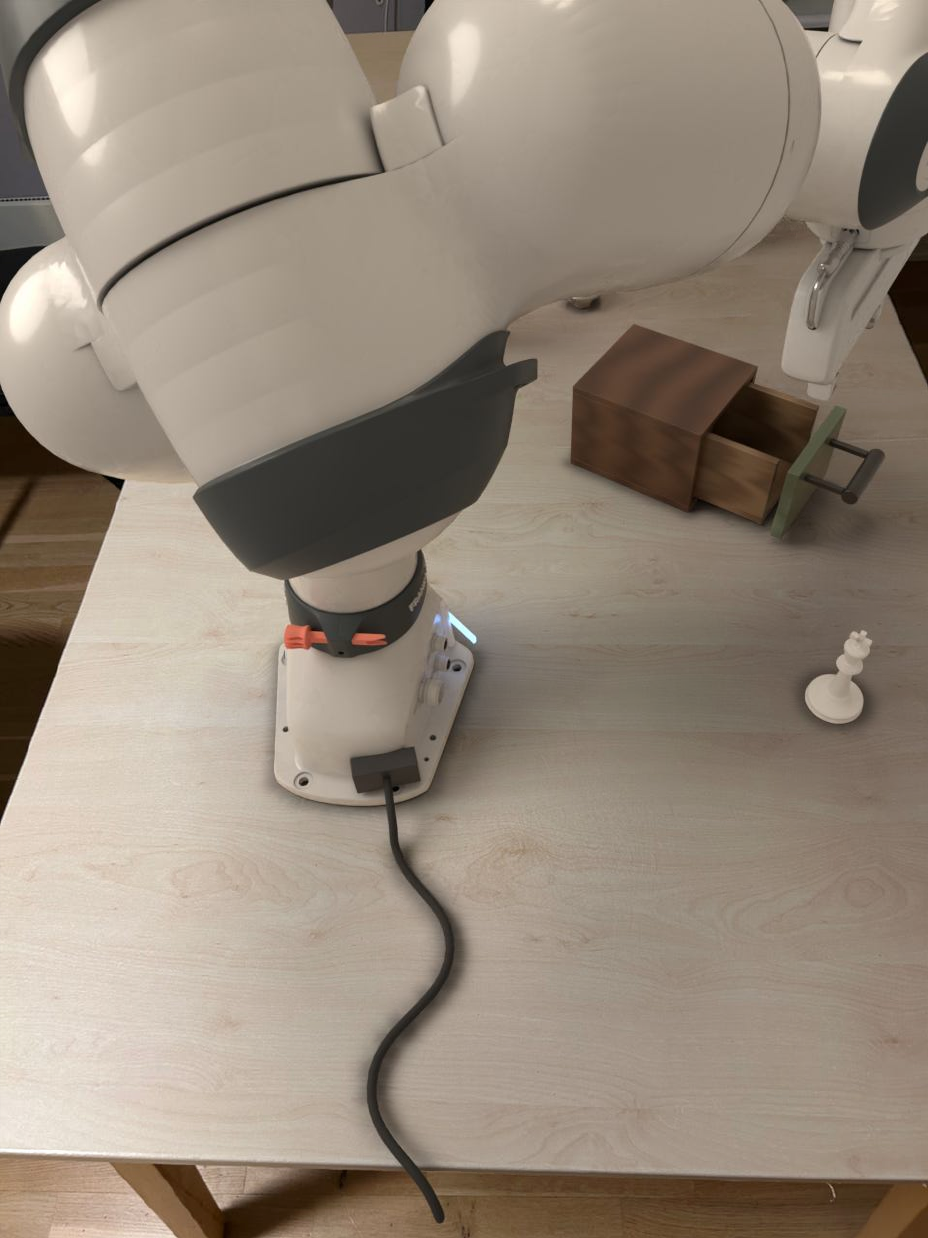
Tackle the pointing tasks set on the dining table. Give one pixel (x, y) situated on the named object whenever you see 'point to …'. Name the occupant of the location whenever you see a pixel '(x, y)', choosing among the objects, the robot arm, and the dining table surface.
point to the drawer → (775, 457)
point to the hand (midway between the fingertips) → (843, 357)
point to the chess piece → (840, 685)
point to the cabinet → (652, 412)
